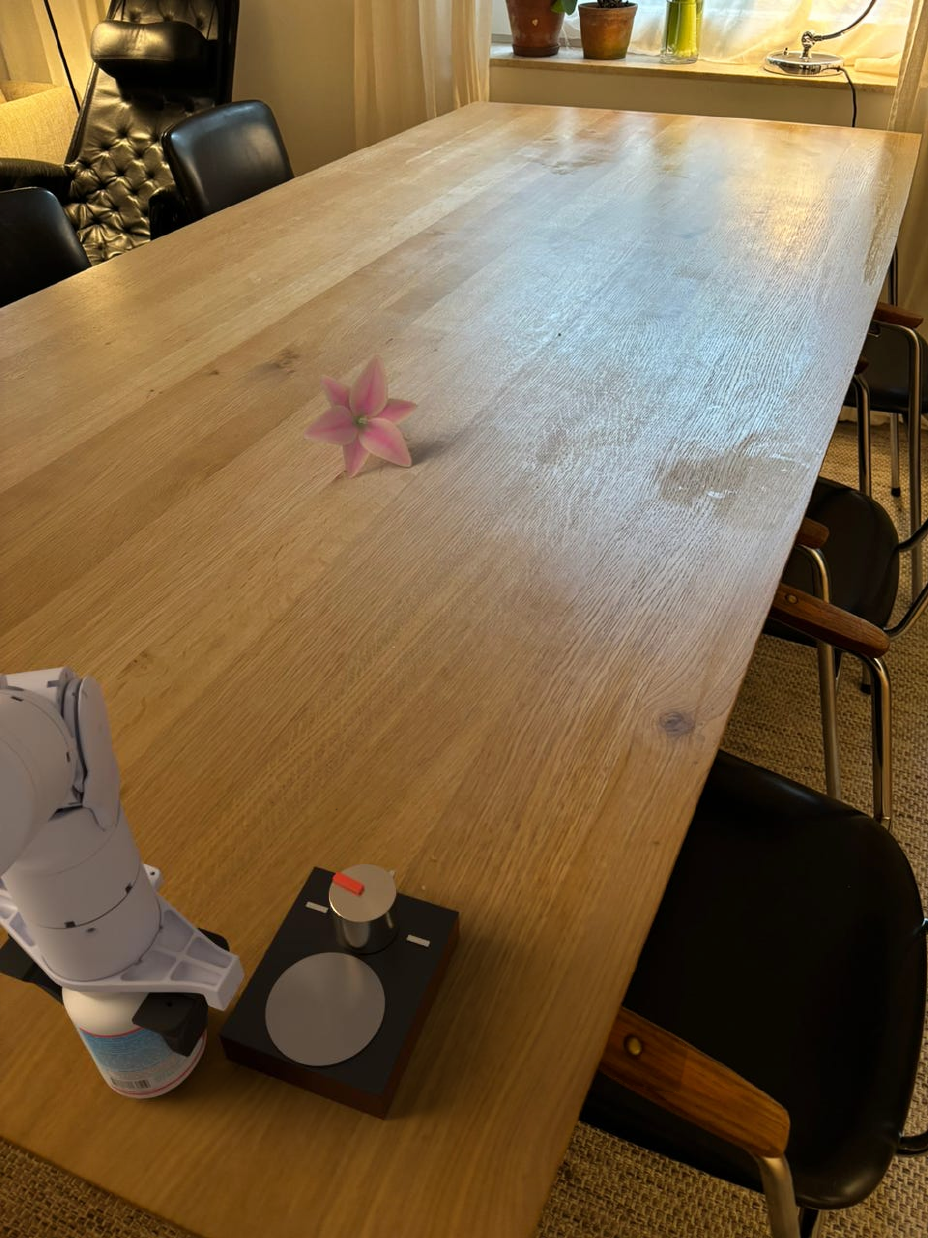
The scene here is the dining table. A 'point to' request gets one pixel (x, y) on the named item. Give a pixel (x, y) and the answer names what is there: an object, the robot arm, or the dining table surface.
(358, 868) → the stove knob
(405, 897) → the stove
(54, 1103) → the dining table surface
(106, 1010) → the pill bottle
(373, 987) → the burner
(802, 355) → the dining table surface
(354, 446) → the lily
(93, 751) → the robot arm
